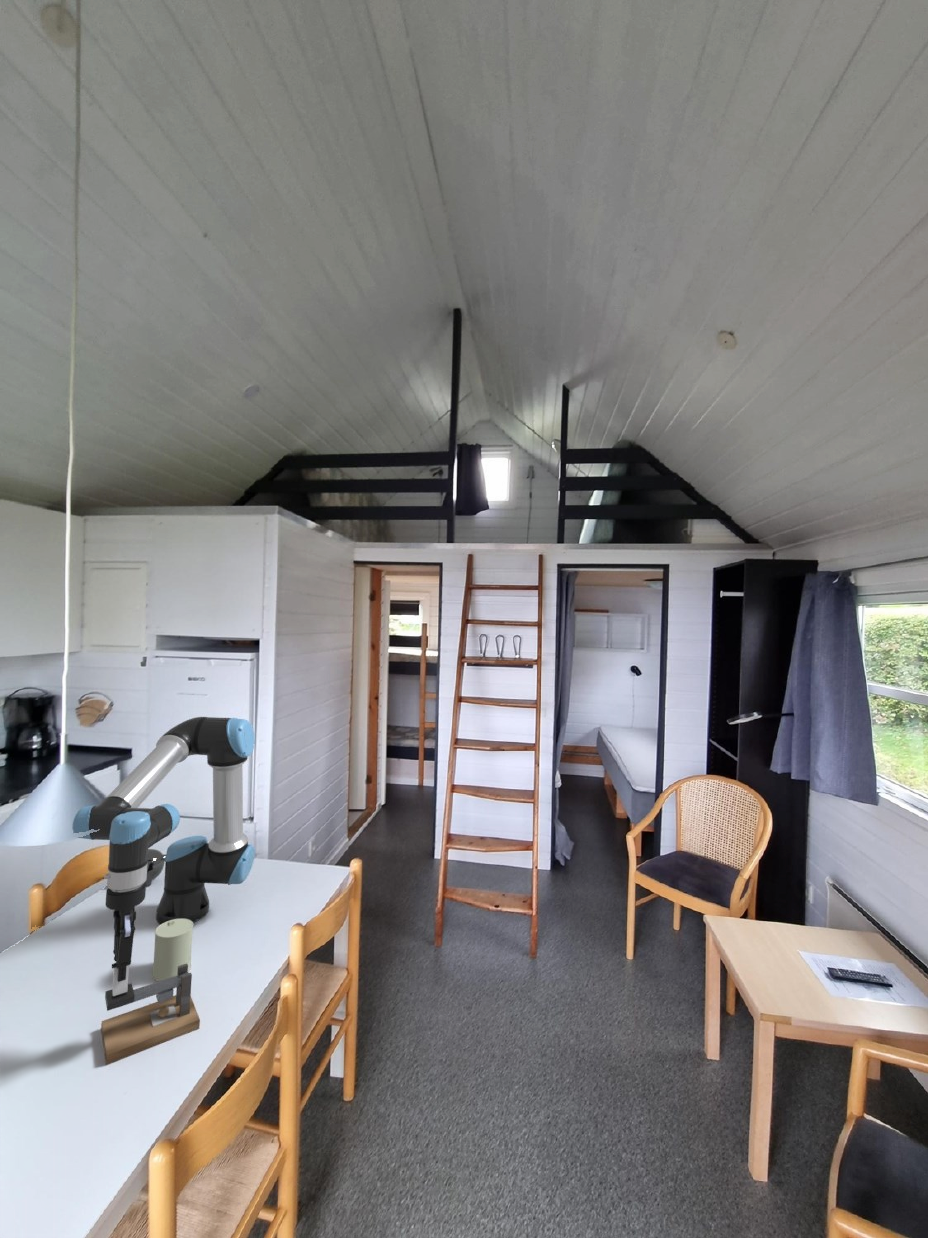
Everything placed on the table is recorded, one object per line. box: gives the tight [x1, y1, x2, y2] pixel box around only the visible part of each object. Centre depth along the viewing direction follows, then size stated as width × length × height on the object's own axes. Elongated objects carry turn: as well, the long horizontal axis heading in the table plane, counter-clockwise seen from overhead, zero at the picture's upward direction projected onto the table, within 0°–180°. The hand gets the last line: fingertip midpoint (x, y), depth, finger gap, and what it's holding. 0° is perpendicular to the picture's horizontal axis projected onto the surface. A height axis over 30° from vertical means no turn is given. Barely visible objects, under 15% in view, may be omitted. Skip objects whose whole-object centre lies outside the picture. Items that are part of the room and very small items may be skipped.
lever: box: [104, 971, 189, 1012], centre depth 121 cm, size 5×17×4 cm, turn 129°
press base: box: [100, 963, 201, 1066], centre depth 122 cm, size 12×18×11 cm, turn 129°
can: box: [151, 919, 194, 982], centre depth 142 cm, size 9×9×12 cm
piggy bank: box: [145, 848, 166, 888], centre depth 189 cm, size 11×15×12 cm
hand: (119, 992), depth 118 cm, fingers closed
